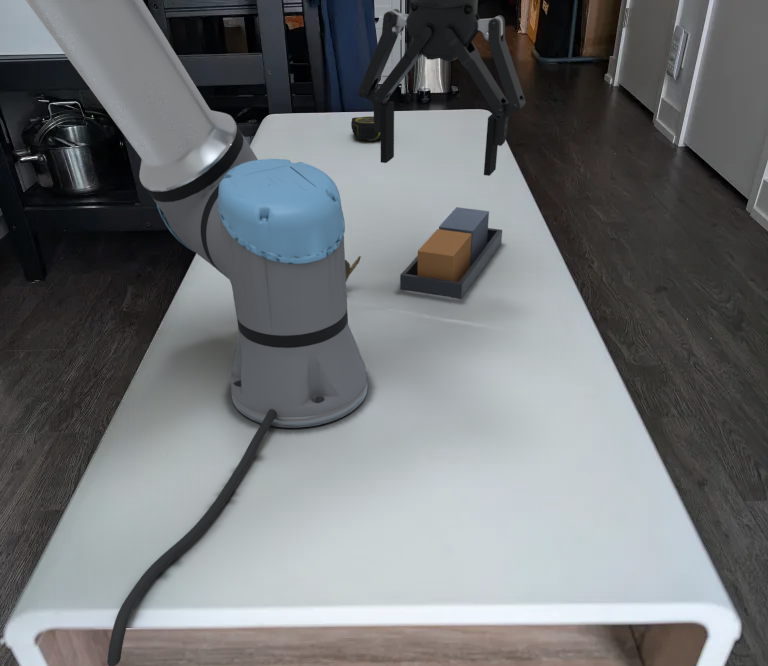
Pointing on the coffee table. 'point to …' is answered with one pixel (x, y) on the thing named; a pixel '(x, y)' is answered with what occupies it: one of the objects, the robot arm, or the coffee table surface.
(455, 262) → the brown block
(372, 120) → the tape measure
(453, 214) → the grey block
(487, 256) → the carrier tray
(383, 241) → the coffee table surface
